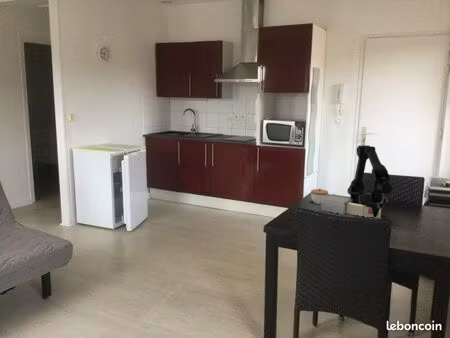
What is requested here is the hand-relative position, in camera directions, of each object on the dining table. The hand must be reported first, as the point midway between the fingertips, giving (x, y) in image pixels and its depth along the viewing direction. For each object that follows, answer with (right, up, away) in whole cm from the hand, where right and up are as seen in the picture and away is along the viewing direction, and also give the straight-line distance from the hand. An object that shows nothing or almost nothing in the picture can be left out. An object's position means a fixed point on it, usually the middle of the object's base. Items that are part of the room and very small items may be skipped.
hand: (375, 216), depth 231 cm
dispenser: (-19, +2, +15) cm, 24 cm away
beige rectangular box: (-6, 0, +5) cm, 8 cm away
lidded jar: (-25, +5, +33) cm, 41 cm away
